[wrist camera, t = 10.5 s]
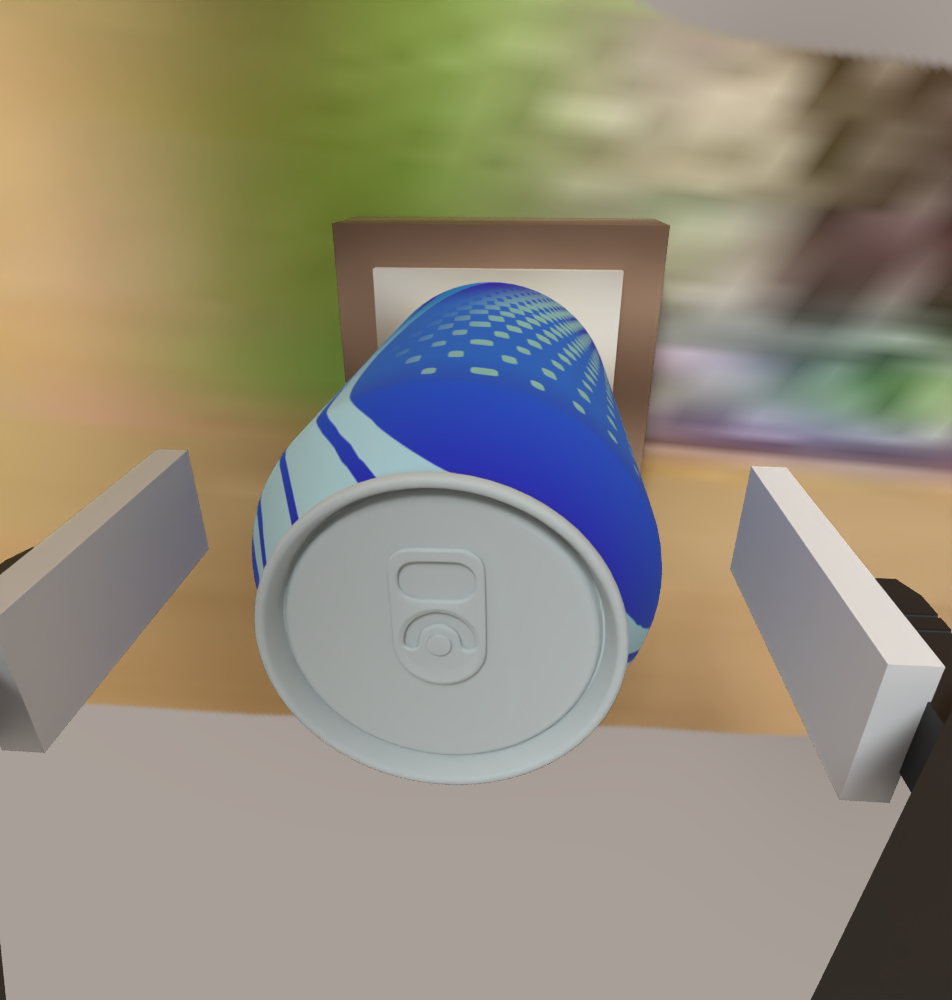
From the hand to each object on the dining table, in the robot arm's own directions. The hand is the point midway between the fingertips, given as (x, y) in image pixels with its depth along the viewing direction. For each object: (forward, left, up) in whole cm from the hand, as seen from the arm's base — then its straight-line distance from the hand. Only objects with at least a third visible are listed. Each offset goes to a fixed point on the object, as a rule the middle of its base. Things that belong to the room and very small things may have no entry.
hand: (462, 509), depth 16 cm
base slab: (0, 0, -15) cm, 15 cm away
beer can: (0, 0, -11) cm, 11 cm away
